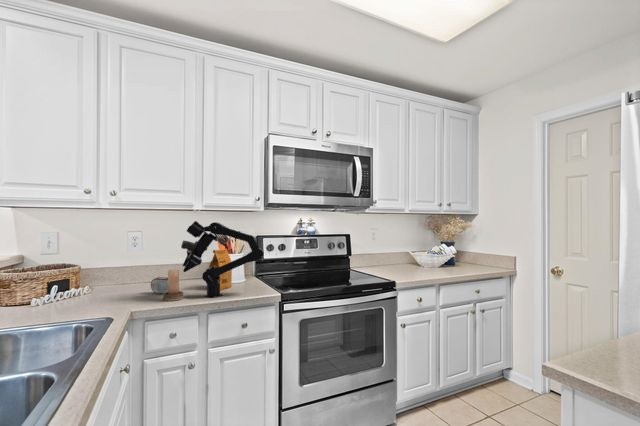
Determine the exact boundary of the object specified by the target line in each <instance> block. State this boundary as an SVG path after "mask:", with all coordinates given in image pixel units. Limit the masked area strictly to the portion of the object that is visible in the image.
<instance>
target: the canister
mask: <svg viewBox="0 0 640 426" xmlns="http://www.w3.org/2000/svg"><path fill="white" fill-rule="evenodd" d="M167 278H168V295H173V294H179V291H180V269H168V271H167Z"/></svg>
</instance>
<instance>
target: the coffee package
mask: <svg viewBox="0 0 640 426" xmlns="http://www.w3.org/2000/svg"><path fill="white" fill-rule="evenodd" d="M212 253H213V254H214V255H213V257H212V260H211V261H210V263H209V266H208V268H210V267H213V266H214V265H216V267H220V266H223V265H225V264H227V263H229V262H232V258H231V256H230V255H229V254H230V253H229V251H228V249H227V248H223V249H213V250H212ZM232 271H233V269H232V270H230V271H227V272H225V273H223V274H221V275H220V276H219V277H220V278H221V279H220V282H219V284H220V291H223V290H227V289H229V288H231V287H232V285H233V284H232V282H233V281H232V278H233V277H232V274H233V272H232Z"/></svg>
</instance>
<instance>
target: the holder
mask: <svg viewBox="0 0 640 426" xmlns="http://www.w3.org/2000/svg"><path fill="white" fill-rule="evenodd" d="M183 299H184V291H181V290H179V294H173V295H168V292H166V293H164V294H163V299H162V300H163V301H164V302H178V301H181V300H183Z"/></svg>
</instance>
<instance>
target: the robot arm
mask: <svg viewBox="0 0 640 426" xmlns="http://www.w3.org/2000/svg"><path fill="white" fill-rule="evenodd" d="M186 232H187V233H188V234H190V235H191V236H192V237H194V238H196V239H197V238H199V239H198V240H196V241H195V242H192V241H188V240H182V242H181V247H180V248H181V249H183V250H186V258H185V260H184V262H183V263H182V266H183V267H184V268H183V270H182V272H184V273H187V272H188V271H189V270H191V269H193V268H195V267H197V266H200V265H201V263H202V262H203V260H202V257H203V254H204V253H205V252H206V251H207V250H208V248H209V246H210V245H211V244H212V242H213V241H215V242H218V241H219V239H218V235H221V236H227V237H229V238H233V239H236V240H241V241H243V242H246V243H247V244H248V246H249V248H250V251H249V252H248V253H246V254H245V255H244V256H241V257H239V258H237V259H235V260H231V262H229V263H227V264H225V265H223V266H220V267H216V265H214V266H213V267H210V268H209V267H207V268H206V269H205V271H204V272H203V273H202V280H203V281H204V282H205V284H206V294H204V297H206V298H212V299H213V298H216V297H217V298H218V297H222V296H223V294H221V290H220V284H219V282H220V279H221V278H220V277H219V276H220V275H221V274H223V273H225V272H227V271H230V270H232V271H233V269H236V268H238V267H241V266H242V265H243V266H244V265H245V264H247V263H253V262H256V261H259V260H262V259H263V258H264V253H265V252H264V249H262V248H261V247H260V246H259V244H258V242H257V240H256V238H255V236H254V235H252V234H247V233H244V232H241V231H238V230H235V229H232V228H230V227H227V226H225V225H224V224H222V223H220V222H215V221H214V222H211V223H210V224H209V225H208V226H207V225H206V226H203V225H202V224H200V223H199V222H198V221H197V220H195V221H194V222H193V223H191V224H190V225H189V226H188V227H187V229H186ZM208 232H210V233H208Z"/></svg>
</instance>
